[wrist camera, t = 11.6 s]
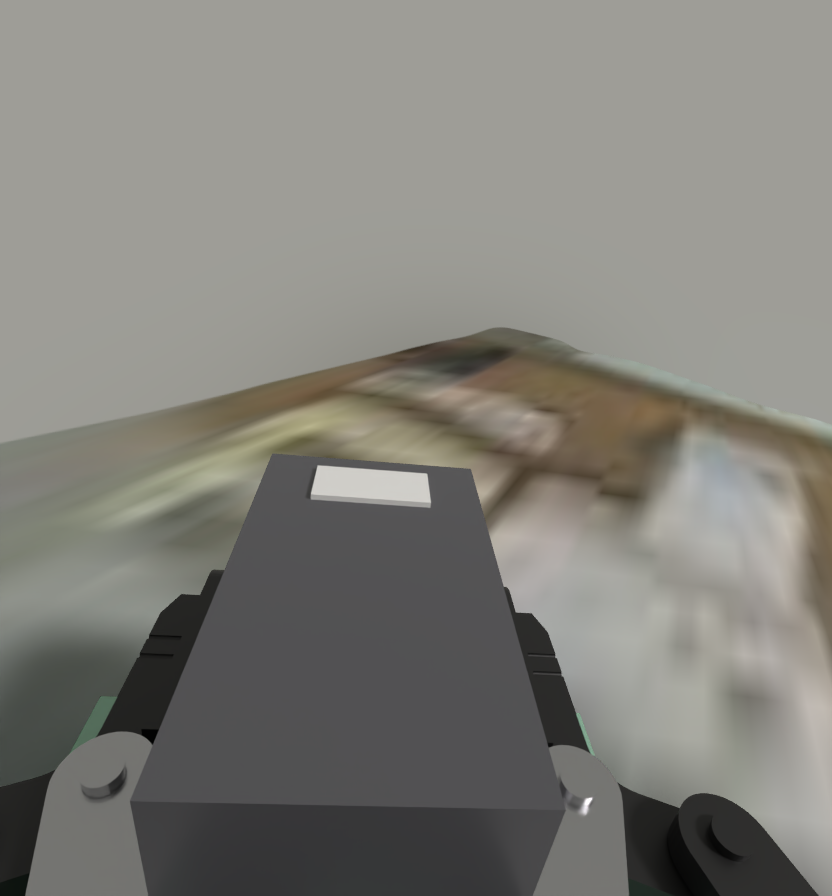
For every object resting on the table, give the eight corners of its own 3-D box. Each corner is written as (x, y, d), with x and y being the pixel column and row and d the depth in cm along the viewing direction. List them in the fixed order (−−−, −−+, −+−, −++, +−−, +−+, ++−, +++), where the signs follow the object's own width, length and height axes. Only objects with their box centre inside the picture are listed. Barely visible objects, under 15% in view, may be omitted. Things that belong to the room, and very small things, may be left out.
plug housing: (437, 1140, 9) (568, 803, 5) (197, 1148, 9) (128, 792, 5) (418, 763, 15) (471, 464, 11) (273, 759, 14) (272, 449, 10)
